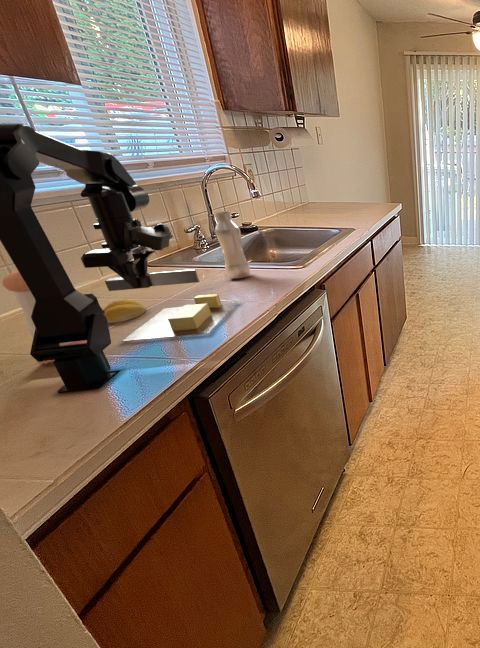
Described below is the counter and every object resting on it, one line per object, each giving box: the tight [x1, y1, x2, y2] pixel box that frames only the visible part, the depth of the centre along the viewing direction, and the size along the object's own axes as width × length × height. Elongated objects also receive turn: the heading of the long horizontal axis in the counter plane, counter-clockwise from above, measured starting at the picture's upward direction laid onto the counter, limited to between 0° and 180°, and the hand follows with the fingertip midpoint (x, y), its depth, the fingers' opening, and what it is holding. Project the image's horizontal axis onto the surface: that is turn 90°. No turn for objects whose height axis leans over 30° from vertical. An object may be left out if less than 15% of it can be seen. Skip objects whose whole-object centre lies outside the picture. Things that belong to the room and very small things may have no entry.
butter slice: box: [193, 293, 223, 308], centre depth 101 cm, size 2×5×3 cm, turn 101°
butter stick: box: [168, 303, 211, 331], centre depth 93 cm, size 8×5×3 cm, turn 11°
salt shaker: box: [2, 270, 87, 365], centre depth 77 cm, size 7×7×19 cm
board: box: [122, 301, 237, 342], centre depth 95 cm, size 18×17×1 cm
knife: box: [104, 268, 201, 292], centre depth 90 cm, size 18×2×3 cm, turn 101°
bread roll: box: [102, 299, 147, 324], centre depth 97 cm, size 8×9×4 cm
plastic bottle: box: [214, 211, 251, 279], centre depth 121 cm, size 6×7×20 cm
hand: (140, 286), depth 90 cm, fingers closed on knife, 2 cm apart
